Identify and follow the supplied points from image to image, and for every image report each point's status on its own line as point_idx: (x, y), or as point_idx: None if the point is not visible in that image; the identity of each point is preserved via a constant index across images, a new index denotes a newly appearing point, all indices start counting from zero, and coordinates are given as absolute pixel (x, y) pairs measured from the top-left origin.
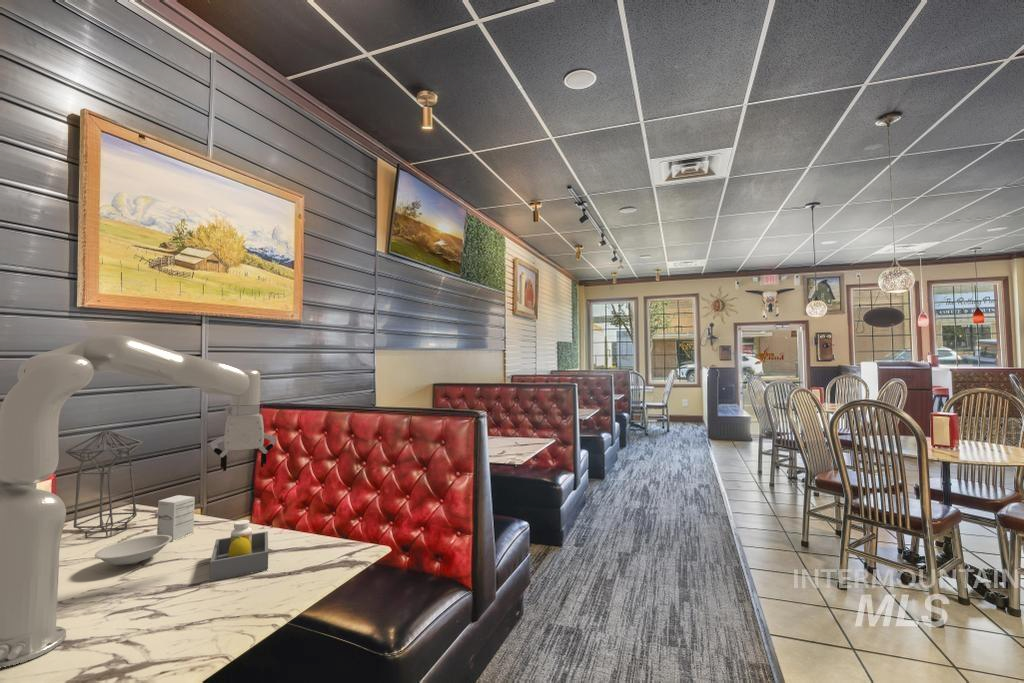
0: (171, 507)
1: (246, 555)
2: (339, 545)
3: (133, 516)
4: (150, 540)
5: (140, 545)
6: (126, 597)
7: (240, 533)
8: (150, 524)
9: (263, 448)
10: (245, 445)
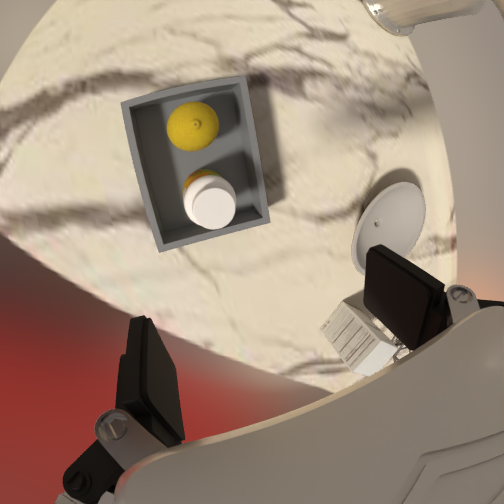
0: (378, 335)
1: (169, 89)
2: (19, 218)
3: (396, 353)
4: None
5: None
6: (348, 80)
7: (207, 177)
8: None
9: (128, 458)
10: (378, 433)
